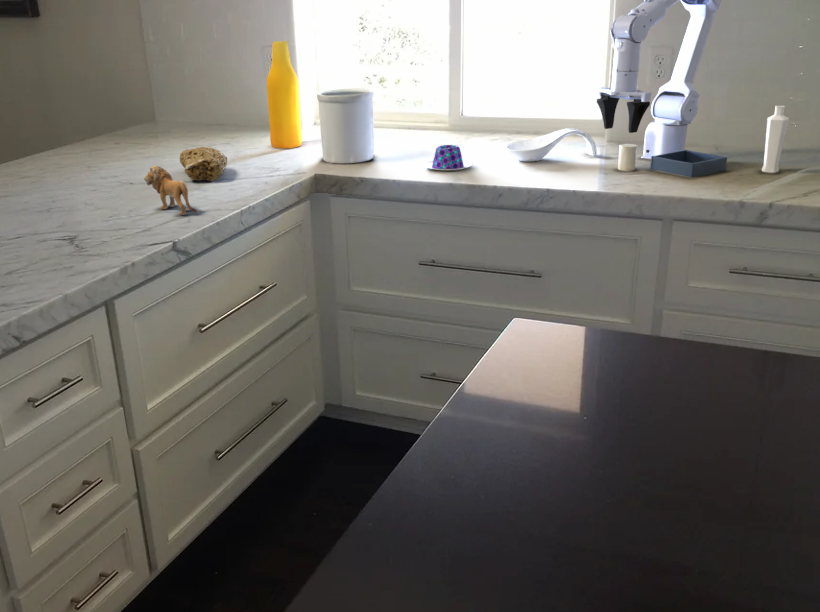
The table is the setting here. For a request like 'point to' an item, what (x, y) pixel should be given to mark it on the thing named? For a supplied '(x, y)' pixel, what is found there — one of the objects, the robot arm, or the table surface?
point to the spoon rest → (545, 145)
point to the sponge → (203, 163)
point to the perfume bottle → (774, 139)
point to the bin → (688, 163)
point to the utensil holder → (346, 125)
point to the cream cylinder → (627, 157)
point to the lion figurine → (168, 188)
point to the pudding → (447, 159)
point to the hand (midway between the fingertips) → (620, 130)
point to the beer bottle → (283, 99)
